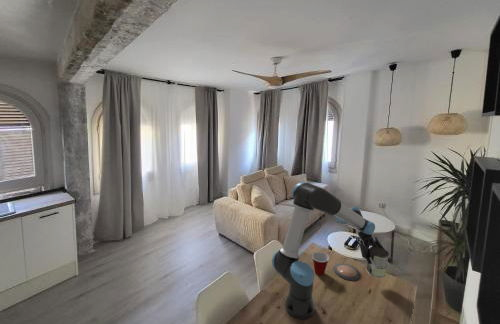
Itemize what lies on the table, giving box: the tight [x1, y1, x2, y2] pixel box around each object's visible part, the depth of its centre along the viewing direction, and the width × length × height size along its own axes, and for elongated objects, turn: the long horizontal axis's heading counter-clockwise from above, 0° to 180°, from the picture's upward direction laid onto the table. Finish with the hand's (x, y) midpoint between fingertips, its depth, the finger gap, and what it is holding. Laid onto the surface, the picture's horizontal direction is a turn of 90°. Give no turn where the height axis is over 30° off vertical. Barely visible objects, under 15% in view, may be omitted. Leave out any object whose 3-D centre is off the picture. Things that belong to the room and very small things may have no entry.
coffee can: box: [365, 246, 390, 279], centre depth 140 cm, size 10×10×14 cm
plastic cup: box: [311, 251, 330, 276], centre depth 152 cm, size 11×11×12 cm
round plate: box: [333, 262, 361, 281], centre depth 154 cm, size 16×16×1 cm
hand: (381, 267), depth 138 cm, fingers closed on coffee can, 10 cm apart
